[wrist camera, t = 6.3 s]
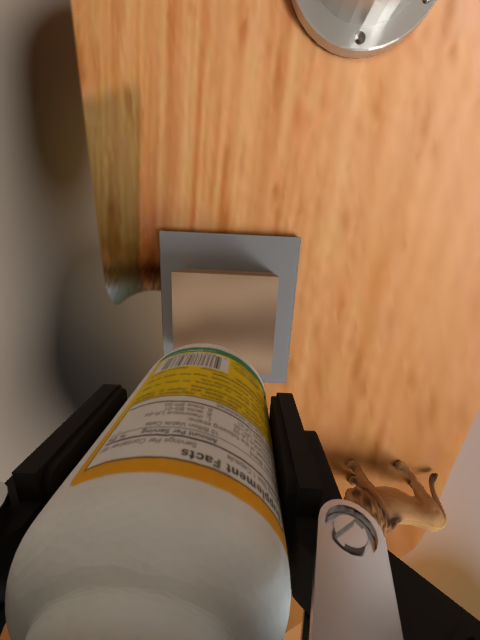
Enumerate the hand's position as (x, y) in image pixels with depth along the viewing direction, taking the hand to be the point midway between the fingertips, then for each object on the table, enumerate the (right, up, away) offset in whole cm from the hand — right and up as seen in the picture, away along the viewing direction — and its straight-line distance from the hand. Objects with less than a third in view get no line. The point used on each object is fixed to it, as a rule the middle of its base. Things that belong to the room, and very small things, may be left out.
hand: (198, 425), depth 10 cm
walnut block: (0, +5, +18) cm, 18 cm away
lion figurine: (+19, -16, +24) cm, 35 cm away
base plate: (0, +5, +18) cm, 19 cm away
